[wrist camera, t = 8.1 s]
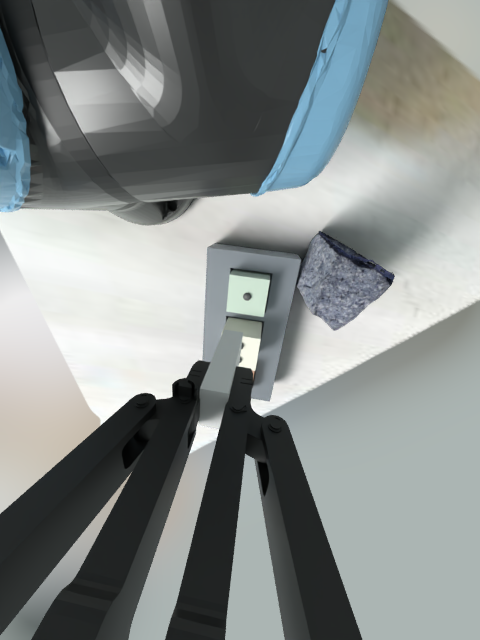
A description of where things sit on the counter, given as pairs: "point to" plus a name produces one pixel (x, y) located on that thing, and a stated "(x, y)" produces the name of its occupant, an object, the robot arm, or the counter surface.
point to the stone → (339, 281)
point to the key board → (273, 322)
